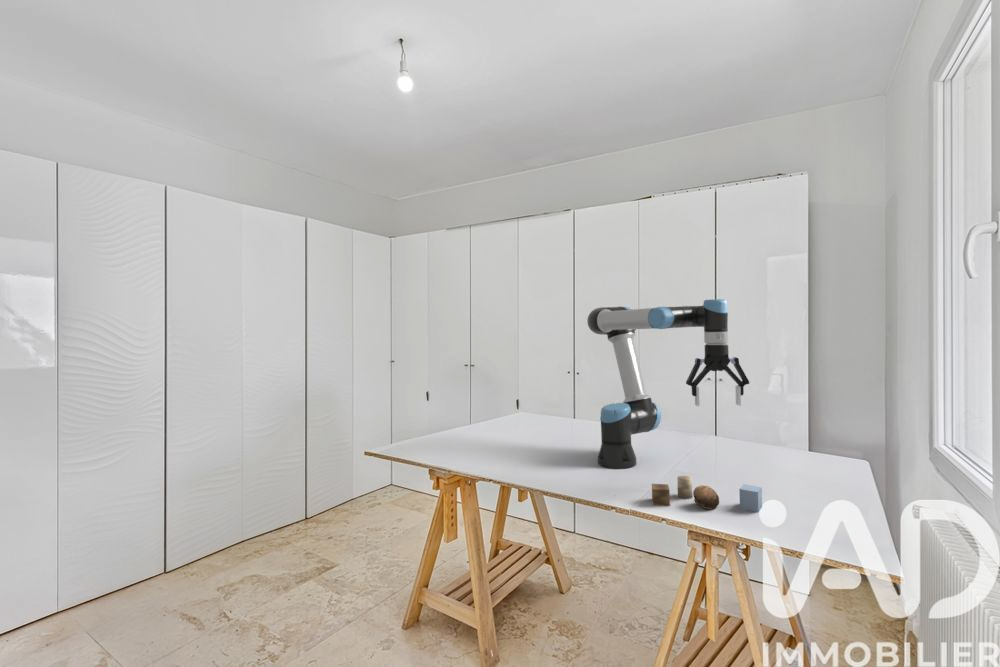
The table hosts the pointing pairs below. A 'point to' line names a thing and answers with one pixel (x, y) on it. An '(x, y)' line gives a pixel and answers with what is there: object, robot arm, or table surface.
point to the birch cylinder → (684, 487)
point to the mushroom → (706, 497)
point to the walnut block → (660, 494)
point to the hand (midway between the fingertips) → (717, 405)
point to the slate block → (750, 498)
